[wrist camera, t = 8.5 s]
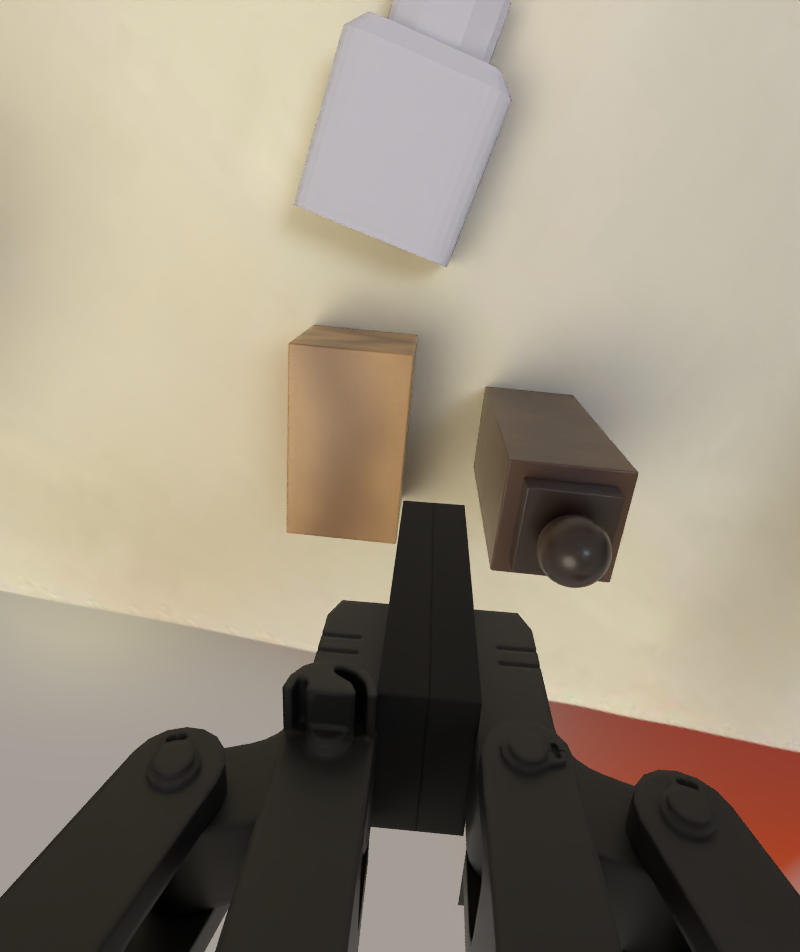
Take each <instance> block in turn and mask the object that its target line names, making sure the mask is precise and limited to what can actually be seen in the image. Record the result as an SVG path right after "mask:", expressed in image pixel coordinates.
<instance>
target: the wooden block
mask: <svg viewBox="0 0 800 952" xmlns="http://www.w3.org/2000/svg"><path fill="white" fill-rule="evenodd" d="M416 344H417V335H410V334H400V333H389V332H379V331H369V330H358V329H348V328H338V327H327V326H317V325H313V326H312V327H310V328H309V329H308V330H306V331H305V332H304V333H302V334H301V335H300V336H298V337H297V338H296V339H294V340H293V341H292V342H290V343H289V376H288V457H287V533H296V534H305V535H315V536H325V537H334V538H344V539H354V540H364V541H373V542H383V543H393V544H395V543H396V539H397V531H398V523H399V515H400V507H401V499H402V490H403V479H404V469H405V458H406V448H407V438H408V427H409V417H410V407H411V396H412V386H413V375H414V365H415V355H416Z"/></svg>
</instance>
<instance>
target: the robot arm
mask: <svg viewBox="0 0 800 952" xmlns="http://www.w3.org/2000/svg"><path fill="white" fill-rule="evenodd" d="M283 720H284V721H283V722H284V729H283V730H282V731H280V732H279V733H278V734H276V735H274V736H271V737H269V738H268V739H265V740H262V741H258V742H255V743H251V744H246V745H240V746H235V747H229V748H224V747H223V746H222V744H221V743H220V741H219V739H218V738H217V737H216V736H214V735H213V734H211V733H209V732H207V731H206V730H203V729H197V728H189V727H186V728H179V729H174V730H167V731H165V732H163V733H161V734H159V735H156V736H154V737H152V738H150V739H148V740H147V741H146V742H145V743H143V744H142V745H141V746H140V747H138V748H137V749H136V750H135V751H134V752H133V753H132V754H131V755H130V756H129V757H128V758H127V759H126V761H124V763H123V764H122V765H121V766H120V767H119V768H118V769H117V770H116V771H115V773H113V775H112V776H111V777H110V778H109V779H108V780H107V781H106V782H105V783H104V784H103V786H102V787H101V788H100V789H99V790H98V791H97V792H96V793H95V794H94V795H93V797H92V798H91V799H90V800H89V801H88V802H87V803H86V804H85V805H84V806H83V808H82V809H81V810H80V811H79V812H78V813H77V814H76V815H75V816H74V817H73V818H72V820H71V821H70V822H69V823H68V824H67V825H66V826H65V827H64V828H63V829H62V831H61V832H60V833H59V834H58V835H57V836H56V837H55V838H54V839H53V840H52V842H51V843H50V844H49V845H48V846H47V847H46V848H45V849H44V850H43V851H42V853H41V854H40V855H39V856H38V857H37V858H36V859H35V860H34V861H33V862H32V863H31V865H30V866H29V867H28V868H27V869H26V870H25V871H24V872H23V873H22V874H21V876H20V877H19V878H18V879H17V880H16V881H15V882H14V883H13V884H12V885H11V887H10V888H9V889H8V890H7V891H6V892H5V893H4V894H3V895H2V896H1V897H0V952H204V951H205V949H206V948H207V946H208V944H209V942H210V941H211V938H212V937H213V935H214V933H215V931H216V930H217V928H218V926H219V924H220V922H221V921H222V919H223V917H224V915H225V913H226V912H227V910H228V912H227V915H226V919H225V922H224V925H223V928H222V931H221V934H220V938H219V941H218V945H217V947H216V951H215V952H358V945H359V936H360V927H361V918H362V909H363V901H364V892H365V882H366V874H367V866H368V849H369V836H370V827H379V828H389V829H399V830H409V831H420V832H430V833H440V834H450V835H460V836H463V834H464V827H465V824H466V847H467V849H466V855H465V862H464V869H463V876H462V882H461V889H460V896H459V903H458V905H464V914H465V915H464V916H465V947H466V952H800V895H799V894H798V893H797V891H796V890H795V889H794V887H793V886H792V885H791V883H790V882H789V881H788V880H787V878H786V877H785V876H784V874H783V873H782V872H781V870H780V869H779V868H778V866H777V865H776V864H775V863H774V861H773V860H772V859H771V857H770V856H769V855H768V854H767V852H766V851H765V849H764V848H763V847H762V845H761V844H760V843H759V842H758V840H757V839H756V838H755V836H754V835H753V834H752V832H751V831H750V830H749V828H748V827H747V826H746V825H745V823H744V822H743V821H742V819H741V818H740V817H739V816H738V814H737V813H736V811H735V810H734V809H733V808H732V806H731V805H730V804H729V803H728V802H727V801H726V800H725V799H724V798H723V797H722V796H721V795H720V794H719V793H718V792H717V791H716V790H714V789H713V788H711V787H710V786H708V785H706V784H705V783H703V782H702V781H700V780H699V779H697V778H695V777H692V776H689V775H686V774H683V773H681V772H678V771H667V770H657V771H654V772H651V773H648V774H645V775H643V777H642V778H641V779H640V780H639V782H638V783H637V784H636V785H635V786H633V785H630V784H627V783H625V782H622V781H619V780H616V779H614V778H611V777H608V776H606V775H603V774H601V773H599V772H596V771H594V770H592V769H590V768H588V767H587V766H585V765H584V764H582V763H581V762H579V761H578V760H576V759H575V758H574V757H573V756H572V754H571V752H570V750H569V747H568V745H567V744H566V743H565V742H564V741H563V740H562V739H561V738H560V737H559V736H558V735H557V734H556V731H555V728H554V724H553V720H552V716H551V711H550V707H549V703H548V698H547V694H546V690H545V685H544V681H543V677H542V673H541V669H540V664H539V660H538V655H537V653H536V647H535V642H534V638H533V634H532V630H531V629H530V628H529V626H528V625H527V624H526V623H525V622H524V620H523V619H522V618H521V617H520V616H519V614H518V613H508V612H496V611H484V610H474V606H473V595H472V584H471V573H470V562H469V551H468V539H467V528H466V517H465V506H464V505H453V504H440V503H427V502H414V501H403V508H402V516H401V523H400V530H399V537H398V544H397V551H396V559H395V566H394V573H393V580H392V587H391V594H390V602H389V604H381V603H370V602H358V601H346V600H342V601H341V602H340V603H339V604H338V605H337V606H336V607H335V608H334V609H333V610H332V611H331V612H330V613H329V614H328V616H327V619H326V623H325V626H324V629H323V634H322V636H321V640H320V643H319V646H318V651H317V653H316V656H315V660H314V663H311V664H308V665H305V666H303V667H301V668H300V669H298V670H297V671H296V672H294V673H293V674H291V675H290V677H289V678H288V680H287V682H286V683H285V684H284V686H283ZM229 905H230V906H229ZM228 908H229V909H228Z"/></svg>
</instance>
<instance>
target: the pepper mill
mask: <svg viewBox="0 0 800 952" xmlns="http://www.w3.org/2000/svg"><path fill="white" fill-rule="evenodd" d="M474 471H475V477H476V484H477V490H478V496H479V502H480V508H481V514H482V520H483V526H484V532H485V538H486V545H487V551H488V557H489V563H490V569H491V570H496V571H505V572H515V573H524V574H534V575H544V576H548V577H549V578H550V579H551V580H552V581H554V582H556V583H558V584H560V585H562V586H566V587H571V588H580V587H585V586H589V585H591V584H593V583H595V582H597V581H601V582H610V579H611V575H612V571H613V568H614V564H615V560H616V556H617V553H618V549H619V545H620V541H621V537H622V534H623V530H624V526H625V522H626V519H627V515H628V511H629V507H630V503H631V500H632V496H633V492H634V488H635V484H636V481H637V477H638V471H637V470H636V469H635V468H634V467H633V466H632V464H631V463H630V462H629V461H628V460H627V459H626V457H625V456H624V455H623V454H622V453H621V451H620V450H619V449H618V448H617V447H616V446H615V444H614V443H613V442H612V441H611V440H610V439H609V437H608V436H607V435H606V434H605V433H604V431H603V430H602V429H601V428H600V427H599V426H598V424H597V423H596V422H595V421H594V420H593V419H592V417H591V416H590V415H589V414H588V413H587V412H586V410H585V409H584V408H583V407H582V406H581V404H580V403H579V402H578V401H577V400H576V399H575V397H574V396H573V395H564V394H554V393H544V392H534V391H524V390H514V389H503V388H493V387H486V388H485V393H484V400H483V407H482V414H481V421H480V428H479V434H478V441H477V448H476V455H475V462H474Z"/></svg>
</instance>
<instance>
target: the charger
mask: <svg viewBox="0 0 800 952" xmlns="http://www.w3.org/2000/svg"><path fill="white" fill-rule="evenodd" d="M510 5H511V4H510V2H509V1H508V0H394V1H393V4H392V7H391V11H390V14H389V17H388V19H387V18H385V17H383V16H380V15H378V14H375V13H372V12H367V13H365V14H363V15H361V16H359V17H358V18H356V19H354V20H352V21H350V22H348V23H347V24H345V25H344V26H343V29H342V33H341V36H340V40H339V43H338V47H337V51H336V54H335V58H334V61H333V65H332V69H331V72H330V76H329V79H328V83H327V87H326V90H325V94H324V97H323V101H322V105H321V108H320V112H319V115H318V119H317V123H316V126H315V130H314V133H313V137H312V141H311V144H310V148H309V151H308V155H307V159H306V162H305V166H304V169H303V173H302V177H301V180H300V184H299V187H298V191H297V195H296V198H295V202H294V205H296V206H298V207H301V208H303V209H305V210H308V211H310V212H312V213H315V214H317V215H320V216H322V217H325V218H327V219H329V220H332V221H334V222H337V223H339V224H342V225H344V226H346V227H349V228H351V229H354V230H356V231H359V232H361V233H364V234H366V235H368V236H371V237H373V238H376V239H378V240H381V241H383V242H386V243H388V244H390V245H393V246H395V247H398V248H400V249H403V250H405V251H408V252H410V253H412V254H415V255H417V256H420V257H422V258H425V259H427V260H430V261H432V262H435V263H437V264H440V265H443V266H445V267H447V265H448V263H449V260H450V258H451V255H452V252H453V250H454V247H455V245H456V242H457V240H458V237H459V234H460V232H461V229H462V227H463V224H464V222H465V219H466V216H467V214H468V211H469V209H470V206H471V204H472V201H473V198H474V196H475V193H476V191H477V188H478V186H479V183H480V180H481V178H482V175H483V173H484V170H485V168H486V165H487V162H488V160H489V157H490V155H491V152H492V149H493V147H494V144H495V142H496V139H497V137H498V134H499V131H500V129H501V126H502V124H503V121H504V119H505V116H506V113H507V111H508V108H509V106H510V103H511V101H512V100H511V97H510V94H509V91H508V88H507V85H506V82H505V79H504V76H503V73H502V71H501V70H500V69H498V68H496V67H494V66H492V65H490V64H489V62H490V59H491V57H492V54H493V51H494V48H495V46H496V43H497V40H498V38H499V35H500V32H501V29H502V27H503V24H504V21H505V18H506V16H507V13H508V10H509V8H510Z"/></svg>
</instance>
